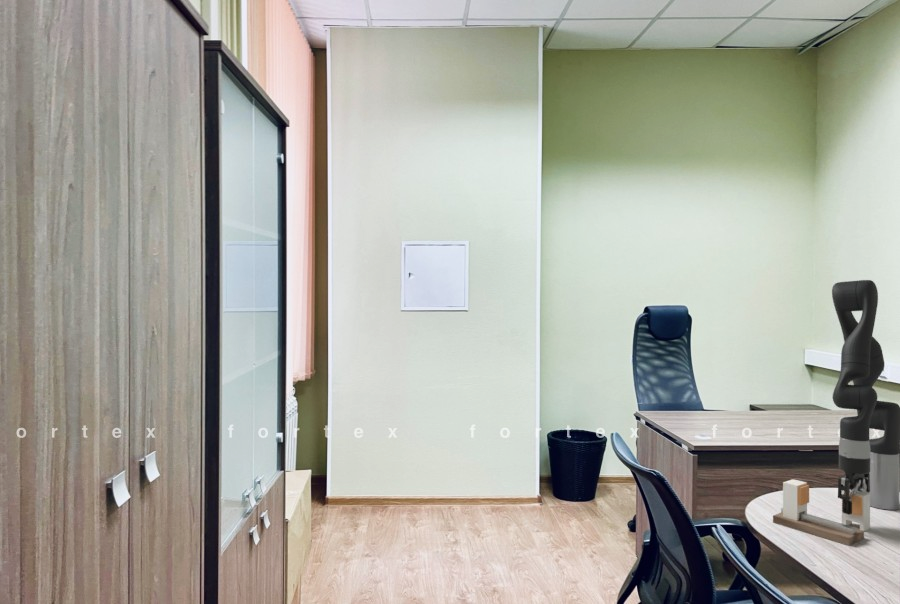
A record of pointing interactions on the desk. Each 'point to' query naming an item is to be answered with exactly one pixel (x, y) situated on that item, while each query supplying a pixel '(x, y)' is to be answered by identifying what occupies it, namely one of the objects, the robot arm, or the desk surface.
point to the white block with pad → (859, 511)
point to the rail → (819, 530)
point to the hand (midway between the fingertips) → (854, 510)
